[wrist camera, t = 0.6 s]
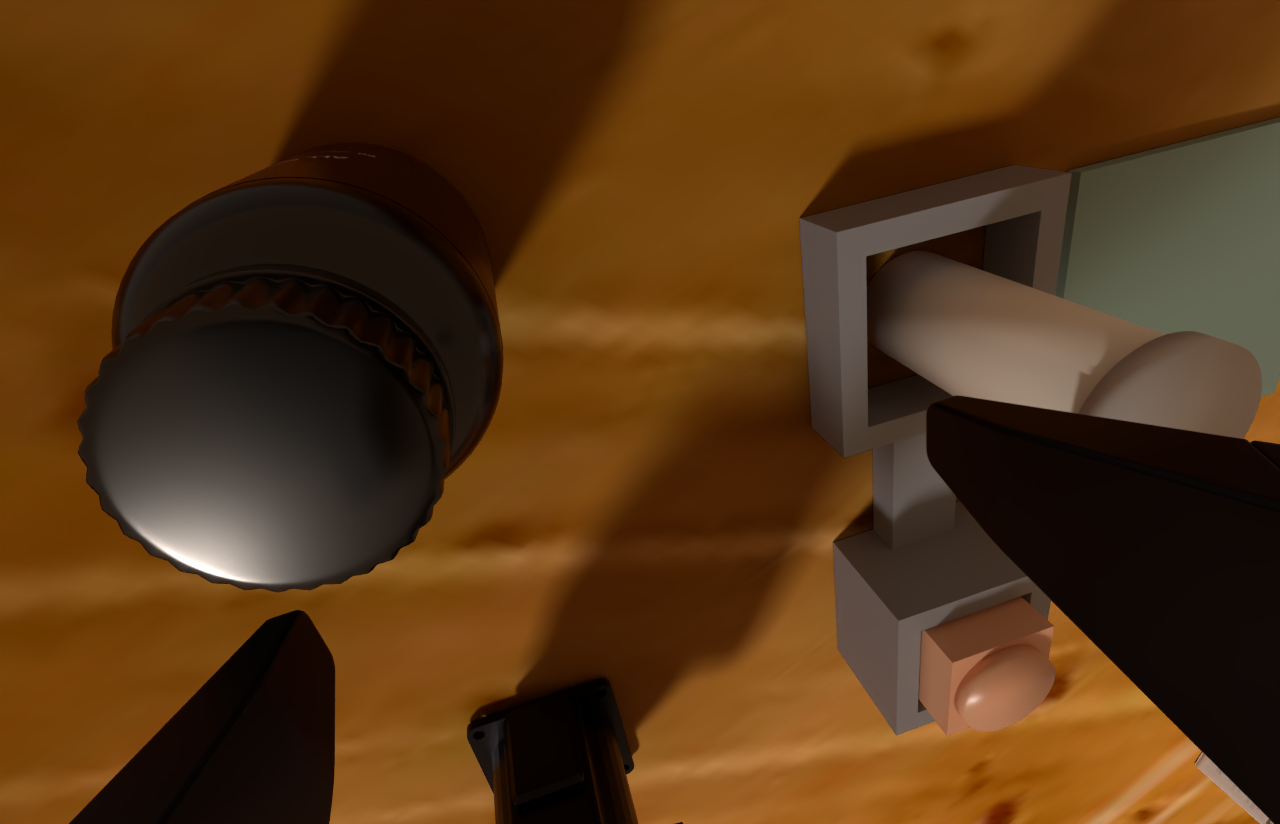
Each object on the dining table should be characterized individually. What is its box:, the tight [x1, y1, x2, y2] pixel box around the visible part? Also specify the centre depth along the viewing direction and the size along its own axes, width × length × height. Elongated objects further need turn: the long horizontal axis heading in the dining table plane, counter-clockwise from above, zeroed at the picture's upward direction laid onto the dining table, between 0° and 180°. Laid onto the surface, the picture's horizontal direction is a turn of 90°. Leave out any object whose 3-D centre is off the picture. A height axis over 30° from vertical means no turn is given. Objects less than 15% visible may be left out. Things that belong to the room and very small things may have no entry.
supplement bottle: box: [77, 143, 503, 592], centre depth 15 cm, size 7×7×12 cm
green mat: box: [1055, 117, 1280, 397], centre depth 28 cm, size 13×13×1 cm
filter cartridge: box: [867, 251, 1262, 439], centre depth 20 cm, size 5×5×11 cm
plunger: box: [918, 596, 1055, 736], centre depth 28 cm, size 4×4×6 cm
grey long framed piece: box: [800, 165, 1072, 735], centre depth 26 cm, size 22×8×5 cm, turn 10°
